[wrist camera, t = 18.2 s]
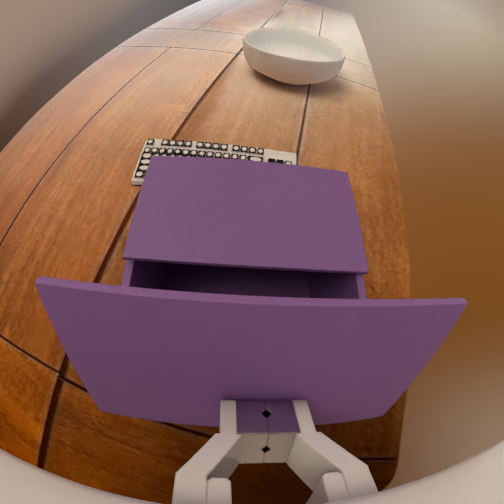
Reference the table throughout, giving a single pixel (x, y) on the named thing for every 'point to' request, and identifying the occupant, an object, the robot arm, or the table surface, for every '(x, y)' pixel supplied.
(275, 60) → the cereal bowl
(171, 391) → the flap
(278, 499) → the table surface
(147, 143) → the keyboard
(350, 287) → the box
